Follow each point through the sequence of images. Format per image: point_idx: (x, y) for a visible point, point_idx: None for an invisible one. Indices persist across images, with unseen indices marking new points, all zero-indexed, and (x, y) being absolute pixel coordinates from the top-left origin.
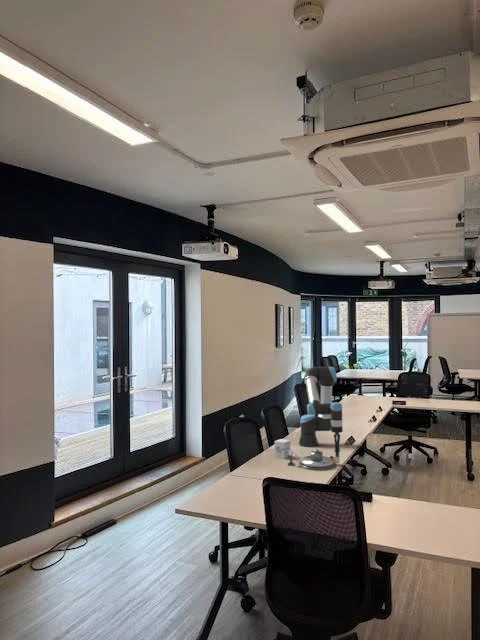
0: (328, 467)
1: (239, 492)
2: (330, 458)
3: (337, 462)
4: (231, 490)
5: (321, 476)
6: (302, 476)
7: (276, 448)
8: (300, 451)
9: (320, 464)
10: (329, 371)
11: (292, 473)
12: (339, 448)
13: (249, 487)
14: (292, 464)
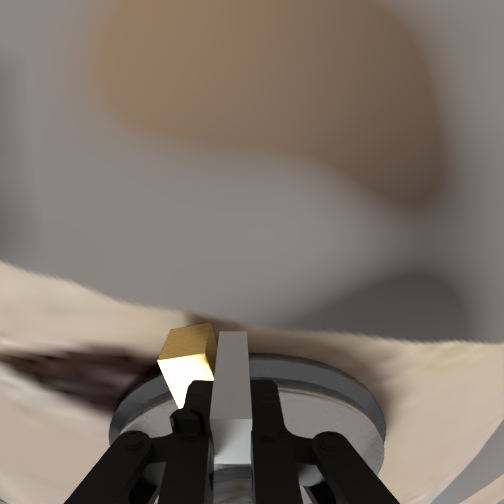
0: (360, 396)
1: (501, 484)
2: (165, 418)
3: (215, 344)
4: (485, 499)
5: (483, 384)
6: (457, 450)
7: None
8: (23, 476)
9: (378, 454)
10: None
11: (408, 491)
12: (129, 438)
13: (484, 491)
14: None
